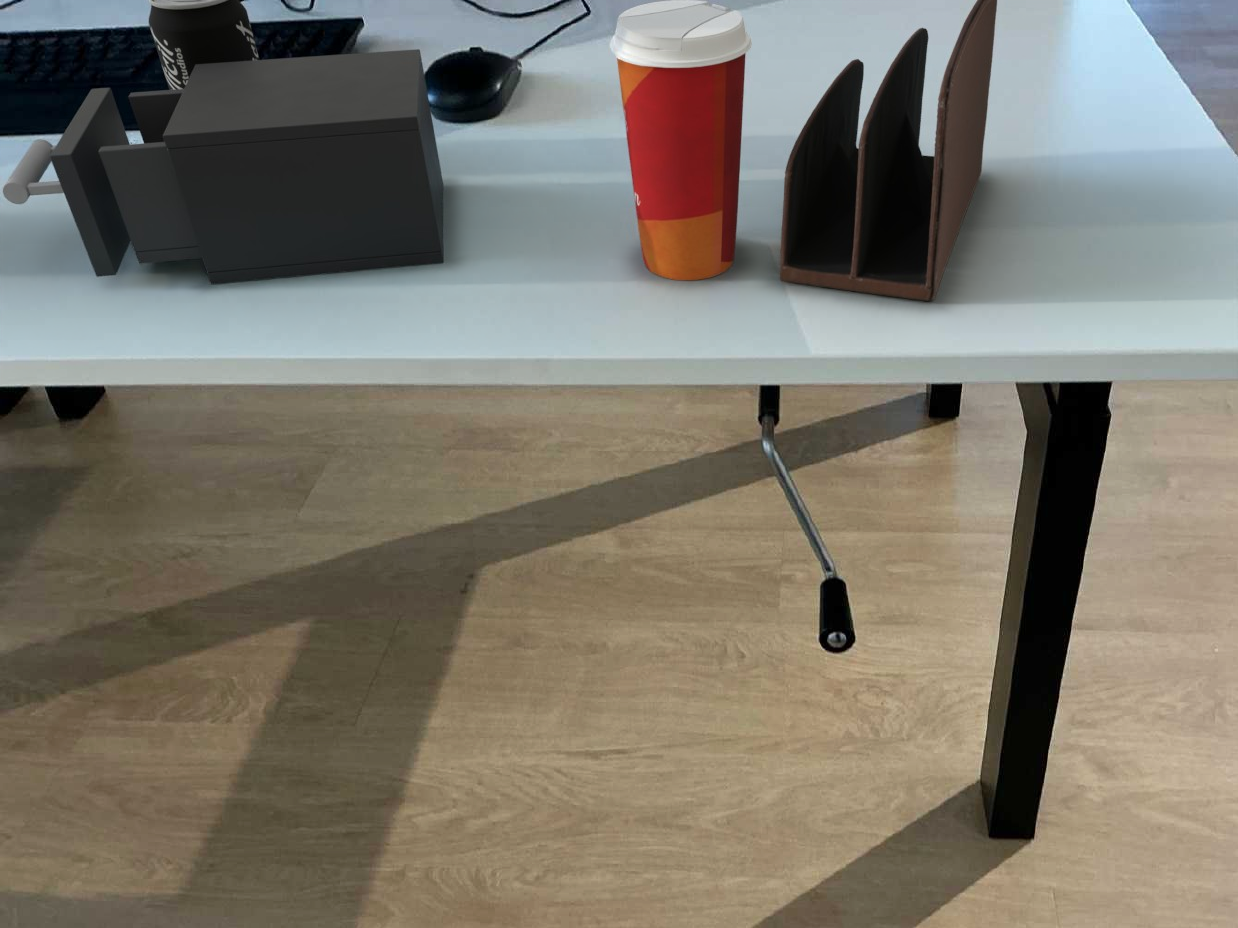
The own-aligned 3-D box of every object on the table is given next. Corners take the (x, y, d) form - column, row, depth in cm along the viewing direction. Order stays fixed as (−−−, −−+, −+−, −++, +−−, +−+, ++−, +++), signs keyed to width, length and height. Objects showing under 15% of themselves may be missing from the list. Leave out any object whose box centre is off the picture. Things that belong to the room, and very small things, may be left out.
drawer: (24, 283, 75) (-28, 161, 70) (67, 206, 83) (23, 93, 78) (318, 257, 77) (287, 137, 72) (330, 185, 86) (303, 73, 80)
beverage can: (268, 178, 89) (222, 6, 81) (180, 178, 89) (125, 7, 81) (294, 143, 94) (253, -21, 86) (211, 143, 94) (162, -21, 86)
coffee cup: (692, 220, 83) (684, -12, 73) (777, 258, 78) (781, 17, 69) (598, 259, 78) (576, 18, 69) (683, 303, 74) (672, 51, 64)
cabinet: (210, 284, 76) (162, 135, 70) (235, 201, 86) (195, 64, 79) (443, 263, 78) (417, 116, 72) (443, 184, 88) (419, 48, 81)
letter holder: (980, 177, 88) (1007, -30, 79) (933, 306, 73) (960, 70, 64) (847, 162, 90) (858, -41, 81) (776, 284, 76) (780, 53, 66)
